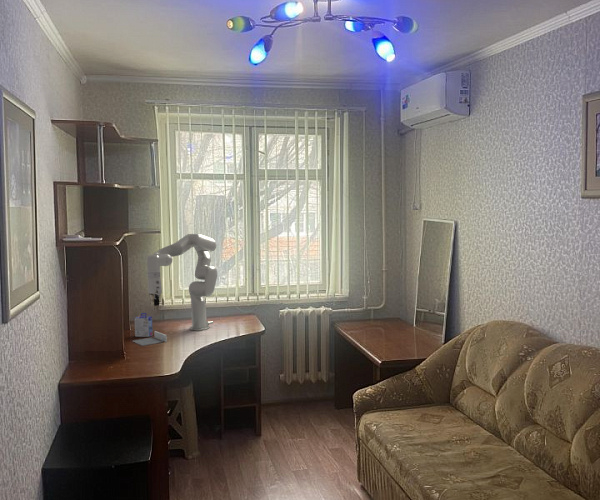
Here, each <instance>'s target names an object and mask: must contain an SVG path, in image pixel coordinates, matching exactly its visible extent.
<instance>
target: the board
mask: <svg viewBox="0 0 600 500" xmlns="http://www.w3.org/2000/svg"><path fill="white" fill-rule="evenodd" d="M131 342H133V343H134V342H135V344H137V345H139V346H141V347H145V346H150V345H154V344H155V345H156V344H162V343H163V341H162V340H159V339H157V338H154V337H152V336H150V337H145V338H139V339H134V340H131Z"/></svg>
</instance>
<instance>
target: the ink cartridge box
mask: <svg viewBox="0 0 600 500" xmlns="http://www.w3.org/2000/svg"><path fill="white" fill-rule="evenodd" d="M147 314H148V313H147V312H141V314H140V316H136V317H134V334H135V335H134V337H135V338H136V337H139V338H142V337H143V338H144V337H145V338H151V337H152V336H154V335H153V333H154V330H153V316H147Z"/></svg>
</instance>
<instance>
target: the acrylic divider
mask: <svg viewBox="0 0 600 500" xmlns="http://www.w3.org/2000/svg"><path fill="white" fill-rule="evenodd" d="M153 333H154V335H153V336H154V337H153V338H155V339H158V340H160V341H162V342H163V343H166V342H168V337H167V334H164V333H162V332H159V331H157V330H153Z"/></svg>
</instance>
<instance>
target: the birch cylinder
mask: <svg viewBox="0 0 600 500" xmlns="http://www.w3.org/2000/svg"><path fill="white" fill-rule="evenodd" d="M154 299H155V298H154V294H153V295H149V304H150V303H151V305H150V307H151V308H158V307H159V306H160V304H159V305H157V306H154Z"/></svg>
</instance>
